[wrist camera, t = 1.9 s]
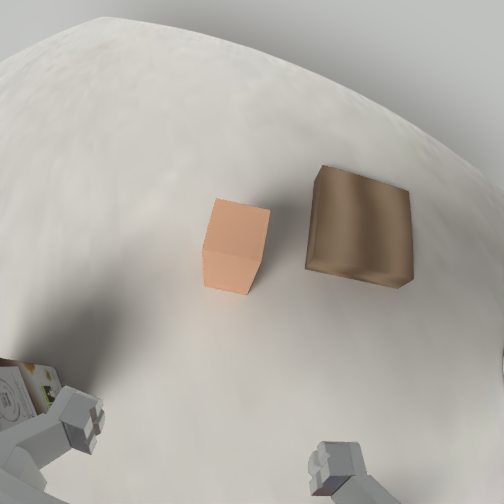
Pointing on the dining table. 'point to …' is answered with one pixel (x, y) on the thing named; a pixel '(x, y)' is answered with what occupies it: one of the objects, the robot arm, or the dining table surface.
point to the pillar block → (234, 245)
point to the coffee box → (25, 391)
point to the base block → (360, 229)
